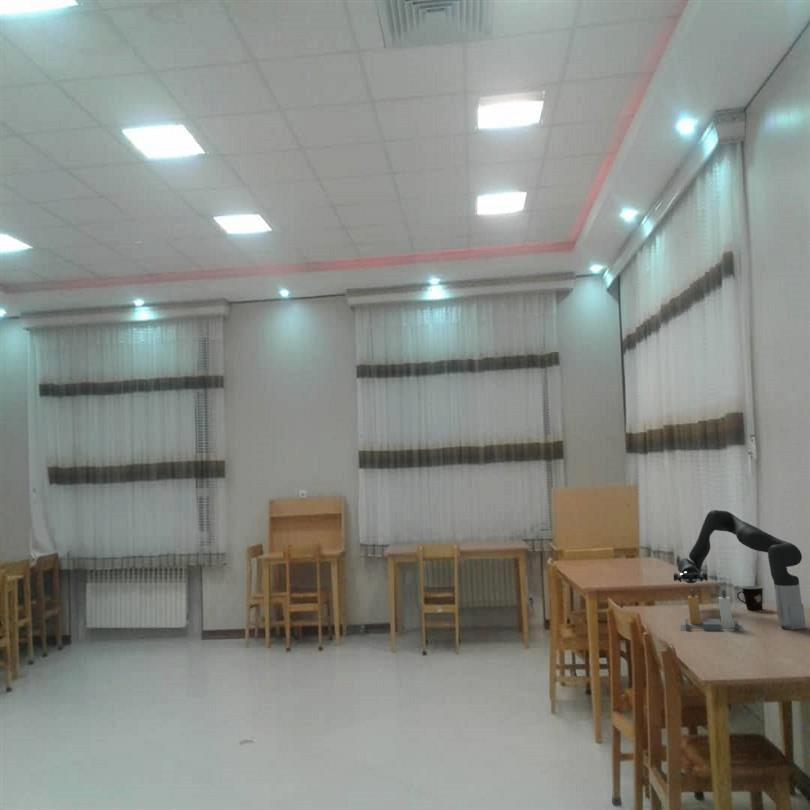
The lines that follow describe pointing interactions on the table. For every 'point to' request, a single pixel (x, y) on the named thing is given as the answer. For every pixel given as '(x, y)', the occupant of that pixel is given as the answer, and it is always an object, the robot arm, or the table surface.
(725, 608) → the white bottle
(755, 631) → the table surface
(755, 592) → the coffee mug
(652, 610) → the table surface
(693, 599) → the orange plug
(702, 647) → the table surface
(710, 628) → the cable rack
